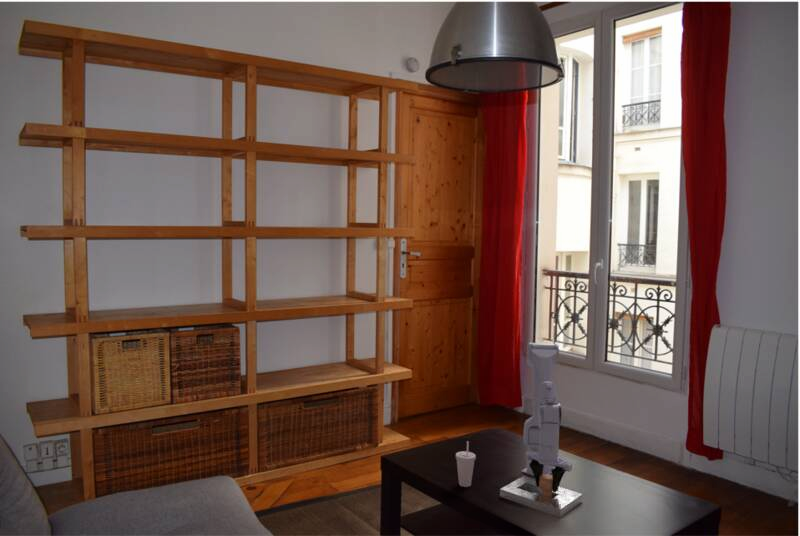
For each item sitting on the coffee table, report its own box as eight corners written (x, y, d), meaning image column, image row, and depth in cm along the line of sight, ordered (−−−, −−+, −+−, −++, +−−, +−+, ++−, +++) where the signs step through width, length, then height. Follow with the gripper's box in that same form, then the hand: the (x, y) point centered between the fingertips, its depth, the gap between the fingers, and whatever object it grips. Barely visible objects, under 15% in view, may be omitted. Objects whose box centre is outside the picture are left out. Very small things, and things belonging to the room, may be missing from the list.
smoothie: (474, 489, 199) (475, 445, 198) (453, 487, 200) (454, 443, 199) (475, 481, 205) (477, 438, 204) (455, 479, 206) (457, 437, 205)
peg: (542, 494, 195) (543, 472, 194) (557, 499, 192) (558, 477, 191) (535, 500, 191) (536, 477, 190) (550, 505, 188) (551, 482, 188)
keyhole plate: (523, 482, 205) (523, 475, 204) (582, 501, 192) (582, 494, 191) (499, 496, 194) (500, 488, 194) (560, 517, 181) (560, 509, 181)
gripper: (520, 441, 192) (519, 485, 193) (564, 453, 182) (563, 499, 183) (532, 435, 197) (530, 478, 198) (576, 447, 188) (574, 492, 189)
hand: (547, 488), depth 191 cm, fingers closed on peg, 5 cm apart
